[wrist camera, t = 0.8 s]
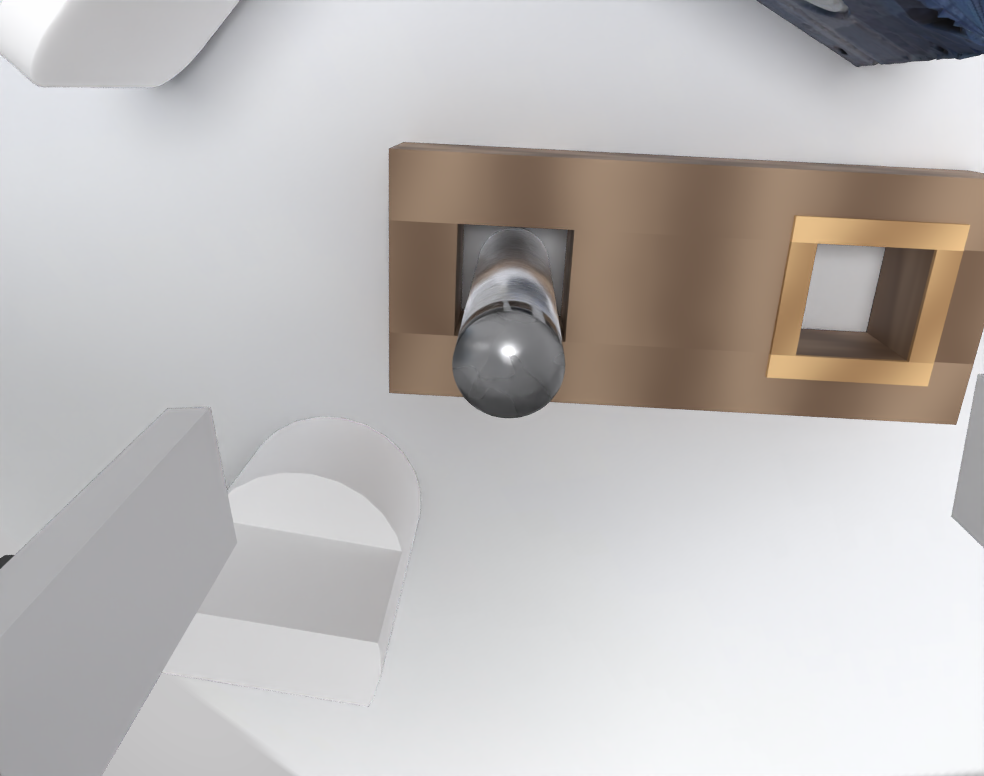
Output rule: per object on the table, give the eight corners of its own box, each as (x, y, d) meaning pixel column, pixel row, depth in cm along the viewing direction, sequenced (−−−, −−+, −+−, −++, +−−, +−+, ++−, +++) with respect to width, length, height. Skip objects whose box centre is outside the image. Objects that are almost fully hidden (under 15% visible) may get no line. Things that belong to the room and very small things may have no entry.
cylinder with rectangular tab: (241, 556, 41) (136, 730, 30) (251, 401, 38) (138, 531, 27) (408, 585, 42) (366, 767, 30) (433, 433, 38) (396, 575, 27)
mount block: (402, 362, 37) (388, 394, 33) (403, 142, 33) (387, 148, 29) (912, 390, 37) (958, 426, 33) (968, 170, 33) (1028, 181, 29)
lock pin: (476, 296, 36) (450, 415, 23) (479, 226, 35) (453, 308, 22) (546, 299, 36) (560, 421, 23) (551, 229, 35) (569, 314, 21)
